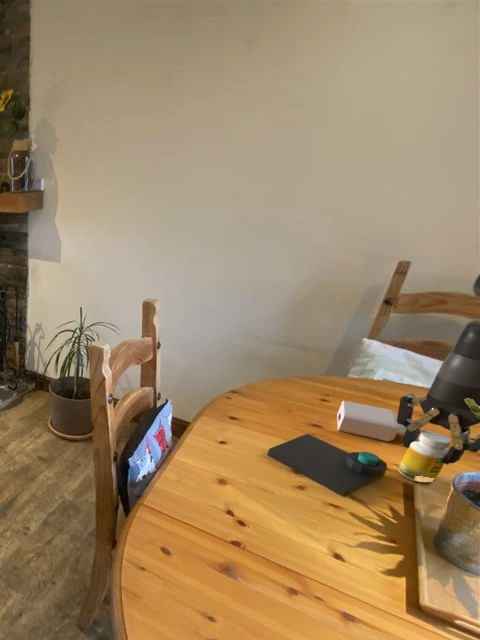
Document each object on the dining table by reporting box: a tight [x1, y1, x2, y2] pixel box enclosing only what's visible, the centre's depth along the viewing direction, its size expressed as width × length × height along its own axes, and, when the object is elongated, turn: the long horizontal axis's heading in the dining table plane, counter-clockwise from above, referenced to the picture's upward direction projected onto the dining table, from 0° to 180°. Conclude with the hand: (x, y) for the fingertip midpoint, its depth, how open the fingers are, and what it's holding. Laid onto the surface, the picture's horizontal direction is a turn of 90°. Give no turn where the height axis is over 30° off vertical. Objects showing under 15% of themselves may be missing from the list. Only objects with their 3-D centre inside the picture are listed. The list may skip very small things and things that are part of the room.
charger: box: [336, 400, 427, 442], centre depth 97 cm, size 5×9×15 cm
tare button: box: [357, 451, 380, 466], centre depth 84 cm, size 3×3×2 cm
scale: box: [266, 433, 388, 498], centre depth 88 cm, size 15×13×4 cm
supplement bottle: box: [397, 430, 452, 482], centre depth 82 cm, size 5×5×10 cm
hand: (427, 454), depth 82 cm, fingers closed on supplement bottle, 5 cm apart
